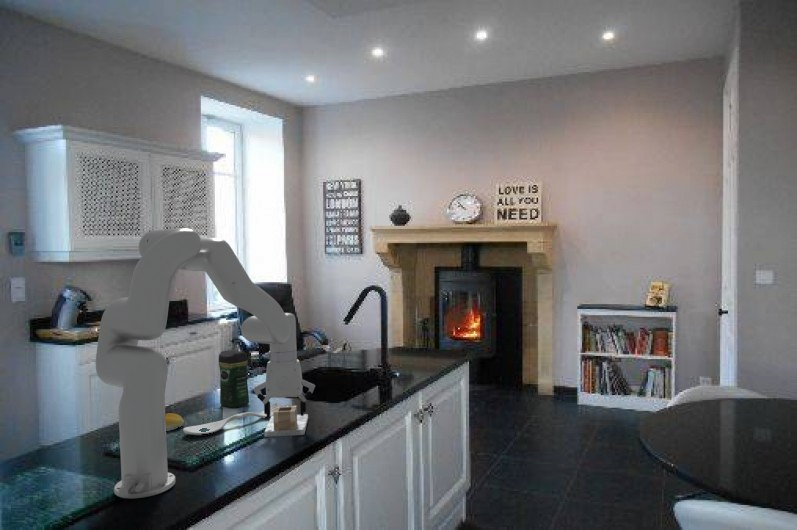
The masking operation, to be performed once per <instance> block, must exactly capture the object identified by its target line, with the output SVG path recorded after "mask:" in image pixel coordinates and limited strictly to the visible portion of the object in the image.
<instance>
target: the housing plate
mask: <svg viewBox="0 0 797 530" xmlns="http://www.w3.org/2000/svg"><path fill="white" fill-rule="evenodd" d="M284 406H292V405H291V404H286V405H284ZM308 422H309V414H308V413H304V415H303V416H301V414H297V425H296V428H295V429H285V430H274V419H273V416H271V417H270V418H269V421H268V423H267V425H266V427H265V430H264V437H265V438H267V437H268V438H269V437H288V436H289V437H290V436H305V432H306V429H307V426H308V425H307V424H308Z"/></svg>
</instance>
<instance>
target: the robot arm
mask: <svg viewBox="0 0 797 530" xmlns="http://www.w3.org/2000/svg"><path fill="white" fill-rule="evenodd" d="M138 251H139V254H140V256H141V257H140V259H139V260H138V261H137V263H136V265H135V268H134V269H133V273H132V275H131V276H132V277H131V283H130V287H129V292H128V296H127V297H120V298H117V299H115V300H113V301H111V303H110V304H108V305H107V307H106V308H105V310H104V311H103V314H102V316H101V320H100V324H99V330H98V331H99V332H98V339H97V347H96V354H95V371H96V373H97V376H98V378H99V380H100V381H102V382H103V383H105V384H107V385H109V386H111V387H112V386H113V387H118V388H122V394H121V397H120V401H119V406H118V423H119V424H118V427H119V428H118V429H119V430H118V431H119V448H120V450H119V451H120V452H119V454H120V469H121V471H120V473H121V475H120V476H121V480H120V481H118V482H117V483H116V484H115V485H114V487H113V493H114V495H116V496H117V497H119V498H121V499H143V498H148V497H152V496H156V495H159V494H162V493H164V492H166V491H168V490H170V489H171V488H172V487H173V486H174V485H175V484H176V476H175V474H173V473H172V472H168V471H169V469H168V468H169V467H168V453H167V452H168V450H167V449H168V447H167V446H168V445H167V432H166V421H165V414H166V403H165V402H166V386H167V380H168V373H169V365H168V363H167V360H166V357H165V356H164V355H163V354H162V352H160V351H158V350H157V349H154V348H152V347H148V346H140V345H139V344H138V343H139V341H154V340H157V339H159V338H160V337H162V335H163V334H164V332H165V330H166V327H167V320H168V315H169V314H168V313H169V305H170V298H171V290H172V285H173V281H174V279H175V277H176V275H177V273H178V272H179V271H180V270H182V271H189V272H190V271H191V272H205V273H206V275H207V276H208V278H209V279H210V280H211V282H212V284H213V285H214V286H215V288H216V290H217V291H218V293H219V294H220V296H221V297H222V298H223V300H224V301H225V302H227V303H229V304H231V305H233V306H235V307H236V308H239V309H241V310H244V311H245V312H248V313H250V314H251V315H252V316H248V317H247V318H246V319H245V320H244V321H243V322H242V324H241V328H240V331H241V336H242V337H243V338H244V339H245V340H246V341H248V342H251V343H254V344H255V343H256V344H267V345H269V351H268V352H265V353H264V358H265V359H268V360H269V361H268V362H267V364H266V371H265V381H264V382H263V383H261V384H259V385H257V386H255V387H254V388H253V392H254V393H255V395H256V396H257V399H259V400H260V402H262V404H263V407H264V409H263V411H264V414H267V418H266V419H270V418H271V417H270V415H271V412H270V406H271V401H270V399H277V398H278V399H281V398H283V399H284V398H297V397H298V398H299V399H300V402H299V405H300V415H301V416H303V415H304V414H305V413H306V412H307V400H308V399H309V398H310V397H311V396H312V394H313V392H314V390H315V389H316V385H315V383H312V382H309V381H308V380H305V379H303V374H302V373H303V372H302V367H301V363H300V360H299V359H298V355H297V354H298V353H297V352H298V351H297V325H296V320H297V319H296V315H295V314H294V313H291V312H284V310H283V308H282V306H281V305H280V303H278V301H277V300H276V299H275V298H273V297H272V296H271V295H270V294H269V293H268V292H266V291H265V290H264V289H262V287H260V286H259V285H258V284H256V283H254V281H252V279H251V278H250V276H249V275H248V273H247V272H246V270H245V268H244V266H243V264H242V263H241V262H240V260H239V258H238V257H237V254H235V252H234V250H233V248H232V247H231V245H230V244H229V242H227V241H226V240H224V239H222V238H217V237H207V238H205V237H203V238H201V236H200V235H199V233H198V232H197V231H195V230H194V229H190V228H182V227H179V228H168V229H167V228H166V229H165V228H164V229H154V230H151V231H147V232H146V233H144V235H142V237H141V238H140V240H139V242H138ZM303 387H306V388H308V390H307V392H306V393H304V391H303ZM264 388H265V394H266V395H264V394H263V392H262V391H261V390H263V389H264ZM269 417H270V418H269Z"/></svg>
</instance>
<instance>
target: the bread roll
mask: <svg viewBox="0 0 797 530" xmlns="http://www.w3.org/2000/svg"><path fill="white" fill-rule="evenodd" d="M165 421H166V428H173V427H177V426H180V425H182V424H183V423H184V424H185V420H184V419H183V417H182V416H181V415H180V414H178V413H174V412H173V413H172V412H171V413H170V412H169V413H165Z"/></svg>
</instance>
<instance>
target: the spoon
mask: <svg viewBox="0 0 797 530" xmlns="http://www.w3.org/2000/svg"><path fill="white" fill-rule="evenodd" d="M280 406H281V405H280ZM280 406H279V404H278V402H274V403H273V404H270V412H271V415H270V418H271V416H273V412H274V410H275V408H276V407H280ZM248 416H252V417H256V418H260V417H267V414H264V410H262V411H261V412H260V413H256V412H253V411H252V412H251V411H246V412H241V413H236V414H234V415H232V416H229V417H227V418H224V419H222V420H219V421H218V420H217V421H213V422H208V423H203V424H198V425H191V426H187V427H184V428H183V429H182V431H183V432H184V434H187V435H194V436H203V435H202V434H208V435H210V434H209V433H211V434H214V433H216V432H218V431H220V430H222V428H224V427H225V426H226V424H228V423H229V422H230V421H232V420H235V419H242V418H244V417H248ZM202 428H207V429H210V430H209V431H206V432H201V431H199V430H200V429H202ZM213 432H214V433H213Z"/></svg>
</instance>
